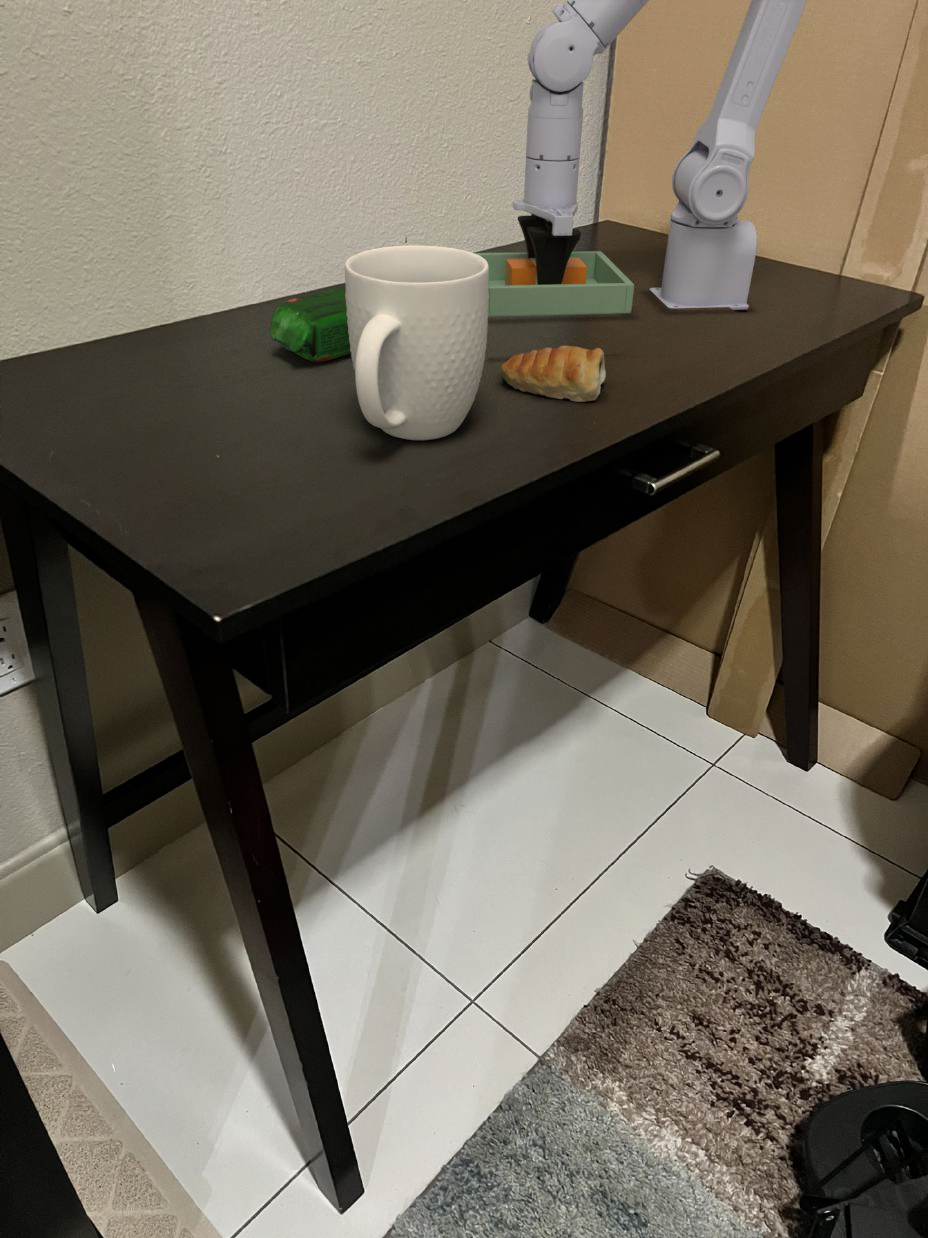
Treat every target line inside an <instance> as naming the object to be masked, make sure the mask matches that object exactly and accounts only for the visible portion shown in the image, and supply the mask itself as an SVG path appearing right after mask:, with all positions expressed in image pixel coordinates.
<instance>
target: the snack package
mask: <svg viewBox="0 0 928 1238" xmlns="http://www.w3.org/2000/svg"><path fill="white" fill-rule="evenodd" d="M345 294H346V286H343V287H338V288H333V289H329V290H324V291H320V292H316V293H312V294H306V295H301V296H298V297H293V298H290V299H288V300H286V301H283V302H282V303H280V304H279V305H277V307H276V308H275V310H274V311H273V313H272V316H271V321H270V326H269V336H270V338H271V339H272V341H274V342H276V343H280V345H282V346H283V347H284V348H285V349H286V350H288V351H290V352H292V353H293V354H296V355H298V356H299V357H301V358H303V359H305V360H307V361H311V362H314V363H321V362H322V363H323V362H328V361H331V360H335V359H338V358H340V357H345V356H348V355H351V351H350V341H349V333H348V323H347V320H348V318H347V307H346V306H347V305H346V297H345Z"/></svg>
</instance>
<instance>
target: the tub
mask: <svg viewBox="0 0 928 1238" xmlns="http://www.w3.org/2000/svg"><path fill="white" fill-rule="evenodd" d="M473 253H474V254H477V255H479V256H481V257H483V258H484V259H485V260H486V261H487V263H488V266H489V292H488V293H489V299H488V302H489V304H488V318H491V317H526V316H530V317H531V316H563V315H564V316H567V315H571V316H572V315H604V314H605V315H606V314H607V315H608V314H609V315H610V314H631V313H632V311H633V310H632V309H633V301H634V292H635V284H634V283H633V282H632V281H631V280H630V279H629V278H628V276H627V275H625V274H624V273H623V272H622V270H620V268H618V266H617V265H616V264H615V263H614V262H613V261H611V259H610V258H608V257H607V256H606V254H605V253H603V252H602V251H601V250H586V251H585V250H580V251H578V250H577V251H574V250H573V251H572V253H571V255H570V258H579V259H580V260H581V261H582V262H583V263H584V264H585V265H586V266H587V271H586V282H585V284H556V285H509V286H505V275H506V259H525V258H528V255H527V251H525V252H524V251H522V252H521V251H520V252H519V251H518V252H473Z"/></svg>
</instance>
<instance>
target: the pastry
mask: <svg viewBox="0 0 928 1238" xmlns="http://www.w3.org/2000/svg"><path fill="white" fill-rule="evenodd" d="M605 361H606V360H605V352H604V350H603V349H602V348H600V347H596V348H594V349H587V348H583V347H579V346H576V345H575V346H571V345H560V346H558V347H556V348H554V347H544V348H542V349H533V350H531V351H529V352H521V353H519V354H515V355H513V356H511V357H510V358H509V359H508V360H506V361H505V362H503V363H502V364H501V367H500V370H501V375H502V378H503V379H504V381H505V382H506V383H507V384H508V385H509V386H511V387H512V388H514V390H516V389H517V390H519V391H520V392H524V393H525V392H528V393H531V394H534V395H535V396H536V395H539V396H545V397H547V398H552V399H558V400H563V399H569V400H570V402H571V401H572V402H580V403H581V402H583V403H584V402H590V401H596V400H597V398H598V397H599V395H600V394H601V385H602V384H603V383H604V382H605V380H606V377H607V373H606V372H607V371H606V367H605V366H606V363H605Z"/></svg>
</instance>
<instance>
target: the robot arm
mask: <svg viewBox="0 0 928 1238" xmlns="http://www.w3.org/2000/svg"><path fill="white" fill-rule="evenodd" d="M649 1H650V0H567V1H566V2H565V3H564V4H563V5H562V3H558V4H557V5H556V6H555V7H554V8H553V10H552V14H553V15H554V16H555V18H556V19H557V21H555V22H551V23H548V24H546V25H544V26H543V27H541V28H540V30H538V32H537V33H536V34H535V35H534V38H533V39H532V40H531V44H530V49H529V52H527V55H526V56H527V57H526V59H527V65H528V68H529V71H530V73H531V75H532V77H533V79H531V85H530V88H529V100H530V104H529V106H528V108H527V122H526V123H527V125H526V147H525V166H524V167H525V168H524V186H523V187H524V188H523V189H524V190H523V199H514V200H512V208H513V210H515V211H524V212H526V213H528V214H530V215H519V216H517V221H518V224H519V227H520V229H521V232H522V235H523V239H524V242H525V248H526V252H527V255H528V258H535V260H536V272H537V284H538V285H556V284H561V283H562V280H563V276H564V272H565V269H566V266H567V263H568V260H569V258H570V255H571V253H572V252H574V249H575V247H576V246H577V244H578V243H579V241H580V239H581V236H582V231H580V229H579V228H574V219H575V218H574V217H575V215H576V214H577V212H578V208H579V207H578V206H579V202H578V201H577V196H578V186H579V185H578V184H579V171H580V159H581V147H582V146H581V145H582V134H583V133H582V132H583V122H584V121H583V120H584V108H583V96H584V85H585V84H584V81H586V80H587V79H588V77H589V75H590V74H591V71H592V67H593V63H594V56H595V55H598V54H599V55H601V54H603V53H604V52H605V50H606V49H607V48H608V47H609V46H610V45H611V44H612V42H613V41H614V40H616V38H617V37H618V36H619V35H620V34H621V33H622V32H623V31H624V29H625V28H626V27H627V26H628V25H629V24H630V23H631V22H632V21H633V19H634V18H635V17H636V16H637V15H638V14H639V13H640V11H641V10H642V9H643V8H644V7H645V6H646V4H648V2H649ZM807 2H808V0H750V3H749V6H748V9H747V10H746V11H747V12H746V14H745V16H744V19H743V22H742V25H741V27H740V30H739V33H738V36H737V39H736V41H735V44H734V47H733V49H732V52H731V55H730V57H729V61H728V63H727V65H726V68H725V71H724V74H723V76H722V79H721V82H720V85H719V88H718V90H717V93H716V95H715V98H714V101H713V103H712V106H711V109H710V112H709V114H708V116H707V117H706V119H705V120H704V122H703V123H702V124H701V125H700V126H699V128H698V130H697V131H696V133H695V136H694V139H693V141H692V144H691V145H690V147H689V148H688V150H687V151H686V152H685V153H684V154H683V155H682V156H681V157H680V158H679V160H678V161H677V163H676V165H675V166H674V169H673V172H672V176H671V178H672V179H671V185H672V190H673V194H674V196H675V198H676V199H677V200H678V202H677V204H676V206H675V208H674V209H673V211H672V212H670V221H669V228H668V236H667V241H666V250H665V257H664V264H663V272H662V279H661V287H650V288H649V291H650V292H651V293H653V294H654V296H656V297H657V298H658V300H660V301H661V302H662V303H663V304H664V305H665V306H666V307H667V308H669V309H700V308H701V309H702V308H703V309H704V308H707V309H708V308H729V309H731V310H732V311H747V310H749V309H750V305H749V304H748V298H749V293H750V287H751V283H752V277H753V272H754V266H755V262H756V256H757V249H758V235H757V230H756V226H755V224H754V223H753V222H752V221H751V220H746V219H739V215H738V214H740V212H741V211H742V210H743V208H744V206H745V204H746V202H747V200H748V196H749V191H750V181H749V179H750V178H749V177H750V171H751V166H752V164H753V161H754V159H755V156H756V155H755V154H756V130H757V128H758V126H759V123H760V120H761V117H762V115H763V113H764V110H765V108H766V105H767V103H768V100H769V98H770V95H771V93H772V90H773V88H774V86H775V82H776V81H777V77H778V75H779V72H780V71H781V68H782V65H783V62H784V60H785V59H786V55H787V52H788V50H789V48H790V45H791V42H792V40H793V37H794V35H795V33H796V30H797V28H798V25H799V23H800V20H801V17H802V15H803V13H804V9H805V7H806V5H807Z"/></svg>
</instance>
